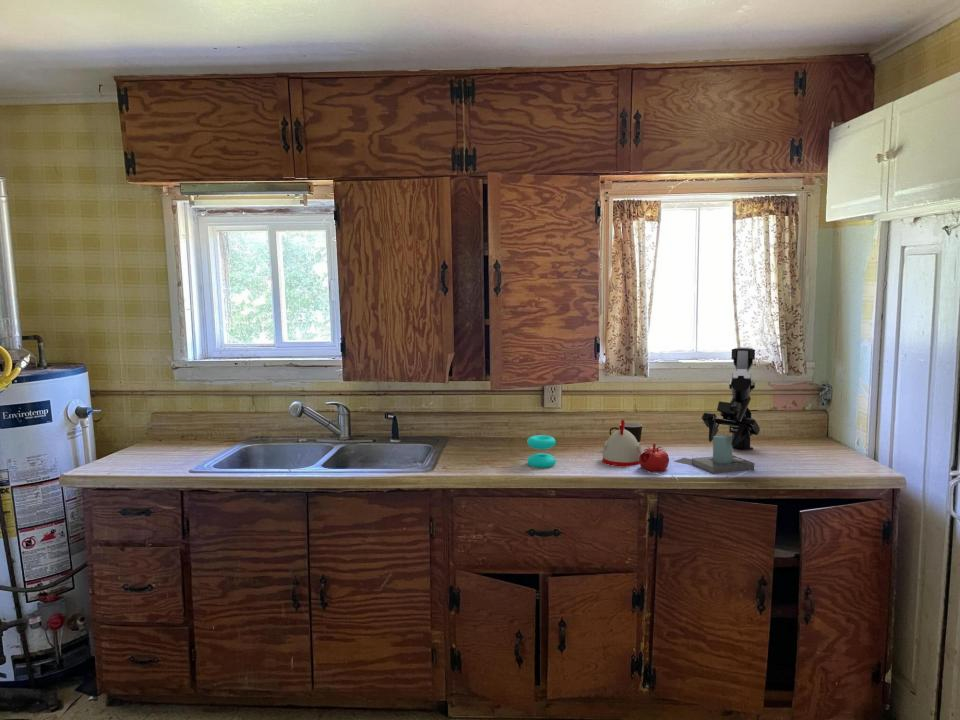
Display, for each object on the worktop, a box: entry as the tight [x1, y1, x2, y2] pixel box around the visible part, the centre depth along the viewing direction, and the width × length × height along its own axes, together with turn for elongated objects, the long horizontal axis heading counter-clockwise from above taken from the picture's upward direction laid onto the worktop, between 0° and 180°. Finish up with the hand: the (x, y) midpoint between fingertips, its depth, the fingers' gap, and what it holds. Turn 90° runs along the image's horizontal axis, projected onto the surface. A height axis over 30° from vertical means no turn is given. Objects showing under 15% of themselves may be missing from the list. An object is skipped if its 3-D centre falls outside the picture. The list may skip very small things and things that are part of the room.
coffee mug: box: [609, 422, 643, 443], centre depth 240 cm, size 12×9×10 cm
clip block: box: [712, 434, 733, 464], centre depth 212 cm, size 4×4×11 cm
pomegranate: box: [639, 443, 670, 473], centre depth 212 cm, size 10×10×9 cm
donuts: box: [526, 434, 557, 469], centre depth 220 cm, size 10×10×10 cm
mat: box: [673, 457, 693, 466], centre depth 221 cm, size 7×7×1 cm
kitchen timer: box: [602, 419, 643, 467], centre depth 223 cm, size 14×14×15 cm
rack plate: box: [691, 454, 755, 475], centre depth 213 cm, size 12×16×3 cm
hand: (720, 443), depth 211 cm, fingers open, 8 cm apart
